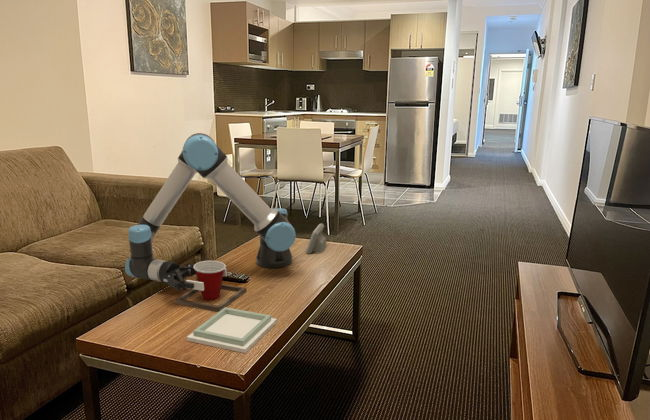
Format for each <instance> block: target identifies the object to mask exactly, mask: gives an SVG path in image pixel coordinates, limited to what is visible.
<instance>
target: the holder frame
mask: <svg viewBox="0 0 650 420" xmlns="http://www.w3.org/2000/svg"><path fill="white" fill-rule="evenodd" d="M221 290H223V291H224V290H225V291H232V292H235V293H233V294H232V295H231V296H229V297H228V298H226V299H225V300H223V301H222V302H221V303H219V304H218V305H215V304H210V303H205V302H204V303H203V302H199V301H193V300H187V299H188V298H190V297H192V296H193V295H195V294H197V293H198V292H201V291H200V290H194V289H189V290H188V291H186V292H185V293H184V294H182V295H180V296H179V297H177V298H175V299H174V305H177V306H178V305H179V306H185V307H190V308H195V309H200V310H206V311H210V312H211V311H212V312H216V313H218V312H219V311H221V310H222V309H223V308H225V307H228V306H229V305H231V304H232V303H234V302H235V301H236V300H237V299H239V298H240V297H242V296H243V295H244V294H245V293H247V287H244V286H237V285H232V284H226V283H225V284H224V283H222V284H221Z"/></svg>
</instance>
